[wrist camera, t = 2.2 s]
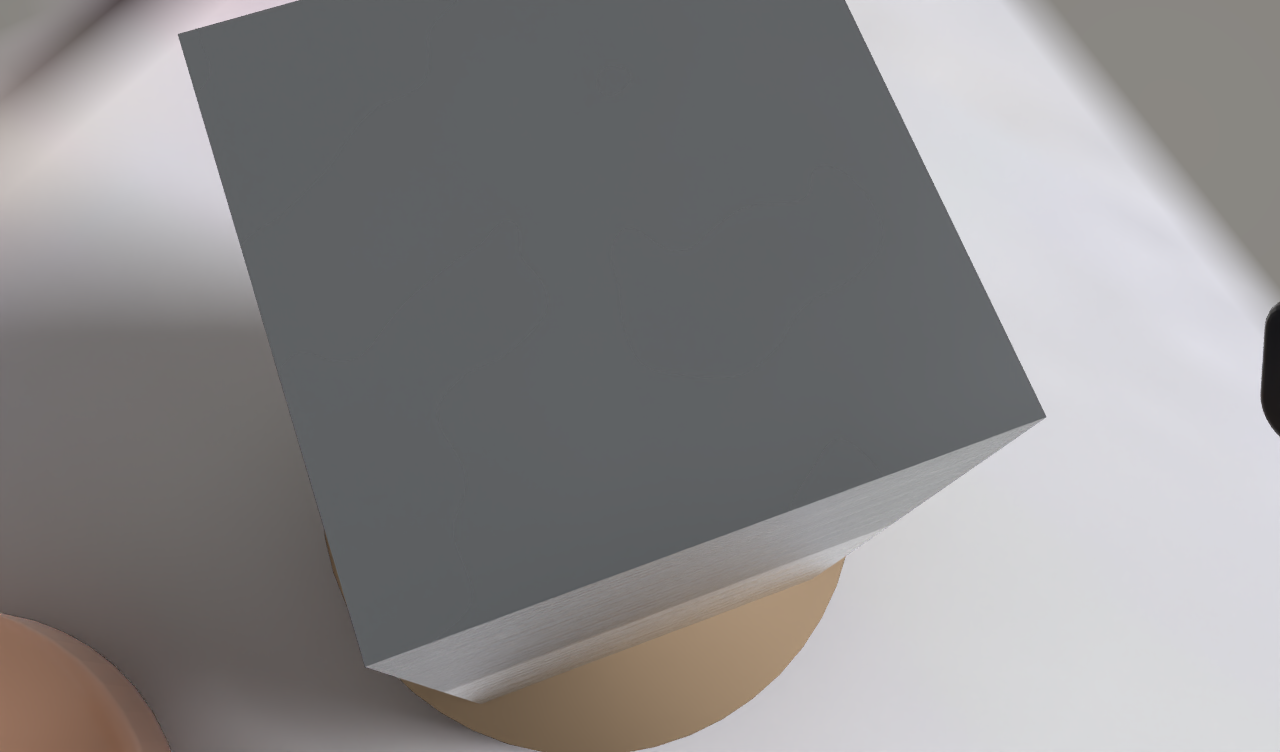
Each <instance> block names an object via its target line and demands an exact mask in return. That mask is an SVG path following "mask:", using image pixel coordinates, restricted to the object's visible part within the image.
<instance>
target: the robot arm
mask: <svg viewBox="0 0 1280 752" xmlns="http://www.w3.org/2000/svg"><path fill="white" fill-rule="evenodd" d="M1261 404H1262V409H1263V412H1264V414H1265V416H1266V419H1267V420H1268V422H1269V424H1270V425H1271V427H1272V428H1273V430H1274V431H1275V432H1276V433H1277V434H1278V435H1279V436H1280V302H1279V303H1277V304H1276V305H1275V306H1274V307H1272V309H1271V310H1270V312H1269V314H1268V316H1267V318H1266V322H1265V332H1264V347H1263V363H1262V378H1261Z"/></svg>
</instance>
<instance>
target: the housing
mask: <svg viewBox="0 0 1280 752" xmlns="http://www.w3.org/2000/svg"><path fill="white" fill-rule="evenodd" d="M178 36H179V40H180V43H181V47H182V50H183V53H184V57H185V60H186V63H187V67H188V70H189V74H190V77H191V80H192V84H193V87H194V90H195V94H196V97H197V101H198V104H199V107H200V111H201V114H202V118H203V121H204V124H205V128H206V131H207V134H208V138H209V141H210V145H211V148H212V151H213V155H214V158H215V161H216V165H217V168H218V172H219V175H220V178H221V182H222V185H223V188H224V192H225V195H226V199H227V202H228V205H229V209H230V212H231V215H232V219H233V222H234V226H235V229H236V232H237V236H238V239H239V243H240V246H241V249H242V253H243V256H244V259H245V263H246V266H247V270H248V273H249V276H250V280H251V283H252V286H253V290H254V293H255V297H256V300H257V303H258V307H259V310H260V313H261V317H262V320H263V324H264V327H265V330H266V334H267V337H268V341H269V344H270V347H271V351H272V354H273V357H274V361H275V364H276V368H277V371H278V374H279V378H280V381H281V384H282V388H283V391H284V395H285V398H286V401H287V405H288V408H289V411H290V415H291V418H292V422H293V425H294V428H295V432H296V435H297V438H298V442H299V445H300V449H301V452H302V455H303V459H304V462H305V466H306V469H307V472H308V476H309V479H310V482H311V486H312V489H313V493H314V496H315V499H316V503H317V506H318V509H319V513H320V516H321V520H322V523H323V526H324V530H325V533H326V536H327V540H328V543H329V547H330V550H331V553H332V557H333V560H334V563H335V567H336V570H337V574H338V577H339V580H340V584H341V587H342V591H343V594H344V597H345V601H346V604H347V607H348V611H349V614H350V618H351V621H352V624H353V628H354V631H355V634H356V638H357V641H358V645H359V648H360V651H361V655H362V658H363V661H364V665H365V667H367V668H370V669H373V670H376V671H379V672H382V673H385V674H388V675H392V676H395V677H398V678H401V679H404V680H407V681H410V682H413V683H416V684H419V685H423V686H426V687H429V688H432V689H435V690H438V691H441V692H444V693H447V694H451V695H454V696H457V697H460V698H463V699H466V700H469V701H472V702H475V703H478V704H483V703H485V702H488V701H491V700H493V699H496V698H499V697H501V696H504V695H506V694H509V693H512V692H514V691H517V690H520V689H522V688H525V687H528V686H530V685H533V684H536V683H538V682H541V681H544V680H546V679H549V678H552V677H554V676H557V675H560V674H562V673H565V672H567V671H570V670H573V669H575V668H578V667H581V666H583V665H586V664H589V663H591V662H594V661H597V660H599V659H602V658H605V657H607V656H610V655H613V654H615V653H618V652H621V651H623V650H626V649H628V648H631V647H634V646H636V645H639V644H642V643H644V642H647V641H650V640H652V639H655V638H658V637H660V636H663V635H666V634H668V633H671V632H674V631H676V630H679V629H681V628H684V627H687V626H689V625H692V624H695V623H697V622H700V621H703V620H705V619H708V618H711V617H713V616H716V615H719V614H721V613H724V612H727V611H729V610H732V609H735V608H737V607H740V606H742V605H745V604H748V603H750V602H753V601H756V600H758V599H761V598H764V597H766V596H769V595H772V594H774V593H777V592H780V591H782V590H785V589H788V588H790V587H793V586H796V585H798V584H801V583H803V582H806V581H809V580H811V579H813V578H815V577H816V576H818V575H819V574H821V573H822V572H823V571H825V570H826V569H828V568H829V567H831V566H832V565H834V564H835V563H836V562H838V561H839V560H841V559H842V558H844V557H845V556H847V555H848V554H849V553H851V552H852V551H854V550H855V549H857V548H858V547H860V546H861V545H862V544H864V543H865V542H867V541H868V540H870V539H871V538H873V537H874V536H875V535H877V534H878V533H880V532H881V531H883V530H884V529H886V528H887V527H888V526H890V525H891V524H893V523H894V522H896V521H897V520H899V519H900V518H901V517H903V516H904V515H906V514H907V513H909V512H910V511H912V510H913V509H914V508H916V507H917V506H919V505H920V504H922V503H923V502H925V501H926V500H927V499H929V498H930V497H932V496H933V495H935V494H936V493H938V492H939V491H940V490H942V489H943V488H945V487H946V486H948V485H949V484H951V483H952V482H953V481H955V480H956V479H958V478H959V477H961V476H962V475H964V474H965V473H966V472H968V471H969V470H971V469H972V468H974V467H975V466H977V465H978V464H979V463H981V462H982V461H984V460H985V459H987V458H988V457H990V456H991V455H992V454H994V453H995V452H997V451H998V450H1000V449H1001V448H1003V447H1004V446H1005V445H1007V444H1008V443H1010V442H1011V441H1013V440H1014V439H1016V438H1017V437H1018V436H1020V435H1021V434H1023V433H1024V432H1026V431H1027V430H1029V429H1030V428H1031V427H1033V426H1034V425H1036V424H1037V423H1039V422H1040V421H1042V420H1043V419H1044V418H1046V415H1045V413H1044V411H1043V409H1042V407H1041V405H1040V403H1039V401H1038V398H1037V396H1036V394H1035V392H1034V390H1033V388H1032V386H1031V384H1030V382H1029V380H1028V378H1027V376H1026V374H1025V372H1024V370H1023V367H1022V365H1021V363H1020V361H1019V359H1018V357H1017V355H1016V353H1015V351H1014V349H1013V347H1012V345H1011V343H1010V341H1009V339H1008V336H1007V334H1006V332H1005V330H1004V328H1003V326H1002V324H1001V322H1000V320H999V318H998V316H997V314H996V312H995V310H994V308H993V305H992V303H991V301H990V299H989V297H988V295H987V293H986V291H985V289H984V287H983V285H982V283H981V281H980V279H979V277H978V274H977V272H976V270H975V268H974V266H973V264H972V262H971V260H970V258H969V256H968V254H967V252H966V250H965V248H964V245H963V243H962V241H961V239H960V237H959V235H958V233H957V231H956V229H955V227H954V225H953V223H952V221H951V219H950V217H949V214H948V212H947V210H946V208H945V206H944V204H943V202H942V200H941V198H940V196H939V194H938V192H937V190H936V188H935V186H934V183H933V181H932V179H931V177H930V175H929V173H928V171H927V169H926V167H925V165H924V163H923V161H922V159H921V157H920V155H919V152H918V150H917V148H916V146H915V144H914V142H913V140H912V138H911V136H910V134H909V132H908V130H907V128H906V126H905V124H904V121H903V119H902V117H901V115H900V113H899V111H898V109H897V107H896V105H895V103H894V101H893V99H892V97H891V95H890V93H889V90H888V88H887V86H886V84H885V82H884V80H883V78H882V76H881V74H880V72H879V70H878V68H877V66H876V64H875V62H874V59H873V57H872V55H871V53H870V51H869V49H868V47H867V45H866V43H865V41H864V39H863V37H862V35H861V33H860V31H859V28H858V26H857V24H856V22H855V20H854V18H853V16H852V14H851V12H850V10H849V8H848V6H847V4H846V2H845V0H299V1H295V2H291V3H288V4H284V5H281V6H277V7H274V8H270V9H266V10H263V11H259V12H256V13H252V14H248V15H245V16H241V17H238V18H234V19H230V20H227V21H223V22H220V23H216V24H213V25H209V26H205V27H202V28H198V29H195V30H191V31H187V32H184V33H180V34H178Z"/></svg>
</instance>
